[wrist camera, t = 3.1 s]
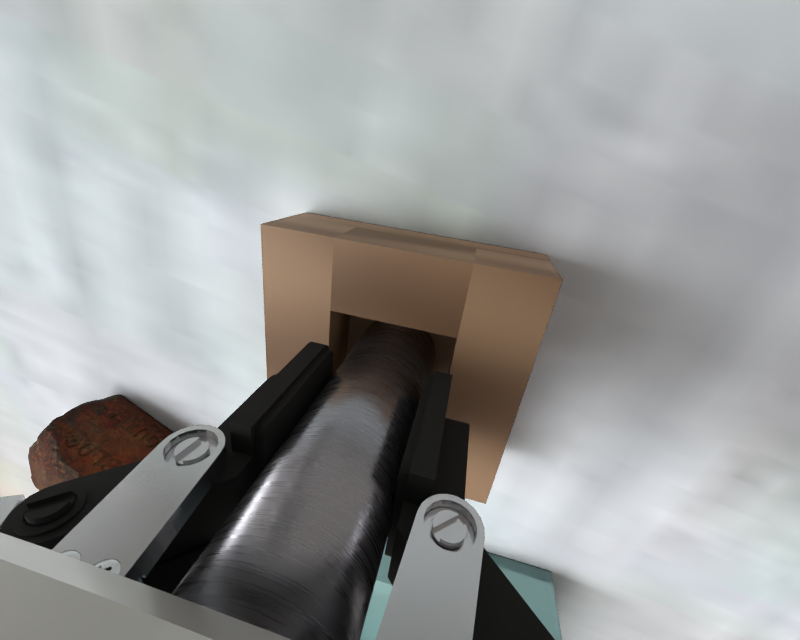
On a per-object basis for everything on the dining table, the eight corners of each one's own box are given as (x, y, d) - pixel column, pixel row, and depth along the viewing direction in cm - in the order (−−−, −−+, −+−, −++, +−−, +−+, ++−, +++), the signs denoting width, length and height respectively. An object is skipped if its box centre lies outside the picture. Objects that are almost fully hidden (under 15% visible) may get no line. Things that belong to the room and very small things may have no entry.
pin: (365, 308, 13) (122, 591, 5) (442, 325, 13) (343, 675, 4) (359, 373, 15) (161, 693, 6) (429, 390, 14) (331, 766, 5)
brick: (261, 489, 21) (205, 568, 17) (236, 517, 23) (180, 595, 19) (114, 382, 20) (18, 438, 16) (100, 420, 22) (10, 479, 18)
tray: (318, 500, 20) (292, 551, 17) (551, 572, 18) (561, 641, 16) (313, 620, 26) (293, 672, 23) (491, 684, 24) (492, 750, 21)
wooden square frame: (305, 212, 14) (260, 224, 11) (546, 254, 12) (562, 279, 9) (303, 399, 17) (269, 441, 15) (486, 446, 16) (485, 503, 13)
